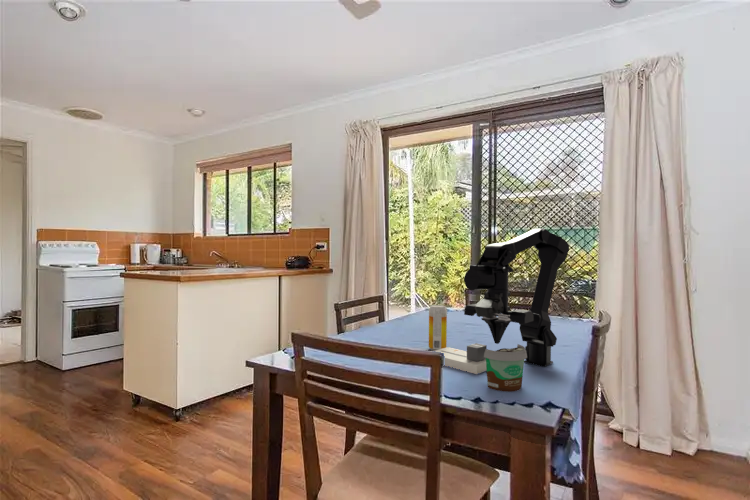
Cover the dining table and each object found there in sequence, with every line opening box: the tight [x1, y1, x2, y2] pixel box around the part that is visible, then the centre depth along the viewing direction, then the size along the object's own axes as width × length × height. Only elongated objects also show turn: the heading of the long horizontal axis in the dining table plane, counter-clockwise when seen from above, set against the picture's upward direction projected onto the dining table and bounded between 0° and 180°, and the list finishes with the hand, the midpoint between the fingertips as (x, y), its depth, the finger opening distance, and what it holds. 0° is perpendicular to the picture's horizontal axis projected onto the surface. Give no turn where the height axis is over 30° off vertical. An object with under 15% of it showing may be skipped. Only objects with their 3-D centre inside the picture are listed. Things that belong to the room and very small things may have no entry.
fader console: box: [435, 346, 487, 375], centre depth 123 cm, size 18×11×2 cm, turn 44°
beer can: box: [428, 304, 448, 352], centre depth 140 cm, size 6×6×15 cm
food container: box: [484, 343, 527, 393], centre depth 102 cm, size 12×6×10 cm, turn 117°
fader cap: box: [466, 342, 487, 362], centre depth 119 cm, size 4×5×4 cm
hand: (497, 343), depth 115 cm, fingers closed
